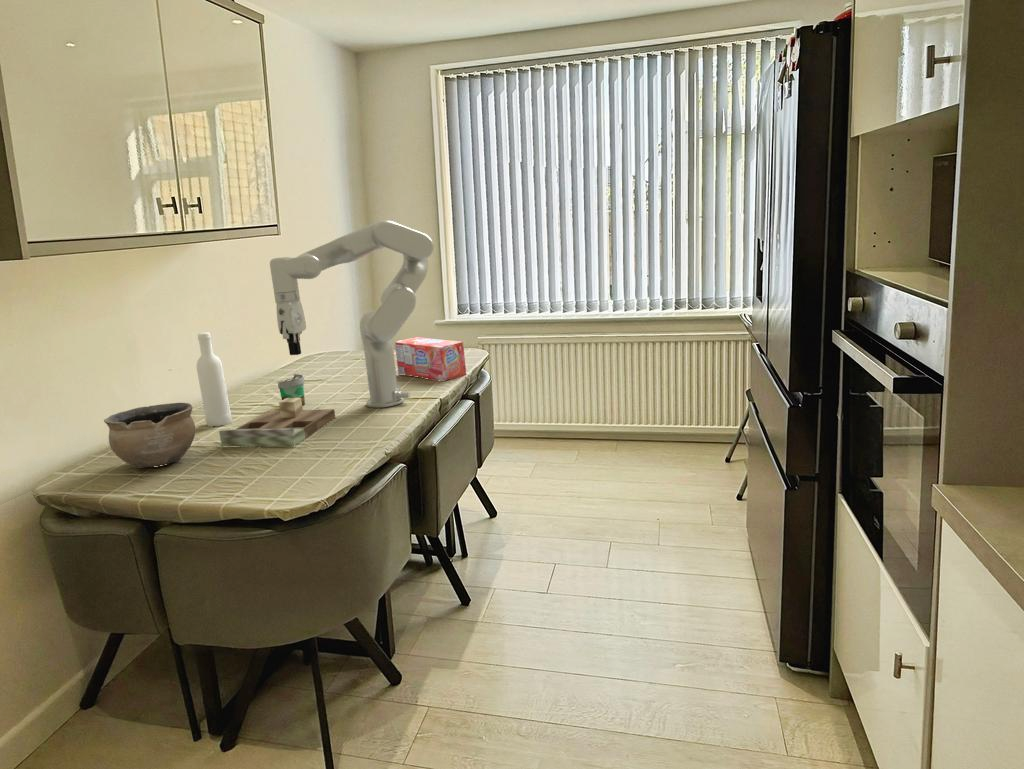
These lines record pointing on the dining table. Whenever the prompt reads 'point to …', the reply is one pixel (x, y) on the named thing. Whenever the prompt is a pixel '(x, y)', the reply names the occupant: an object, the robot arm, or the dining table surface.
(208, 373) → the bottle
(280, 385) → the food container
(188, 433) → the ceramic bowl
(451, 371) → the box
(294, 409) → the maple block
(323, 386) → the dining table surface
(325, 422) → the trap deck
